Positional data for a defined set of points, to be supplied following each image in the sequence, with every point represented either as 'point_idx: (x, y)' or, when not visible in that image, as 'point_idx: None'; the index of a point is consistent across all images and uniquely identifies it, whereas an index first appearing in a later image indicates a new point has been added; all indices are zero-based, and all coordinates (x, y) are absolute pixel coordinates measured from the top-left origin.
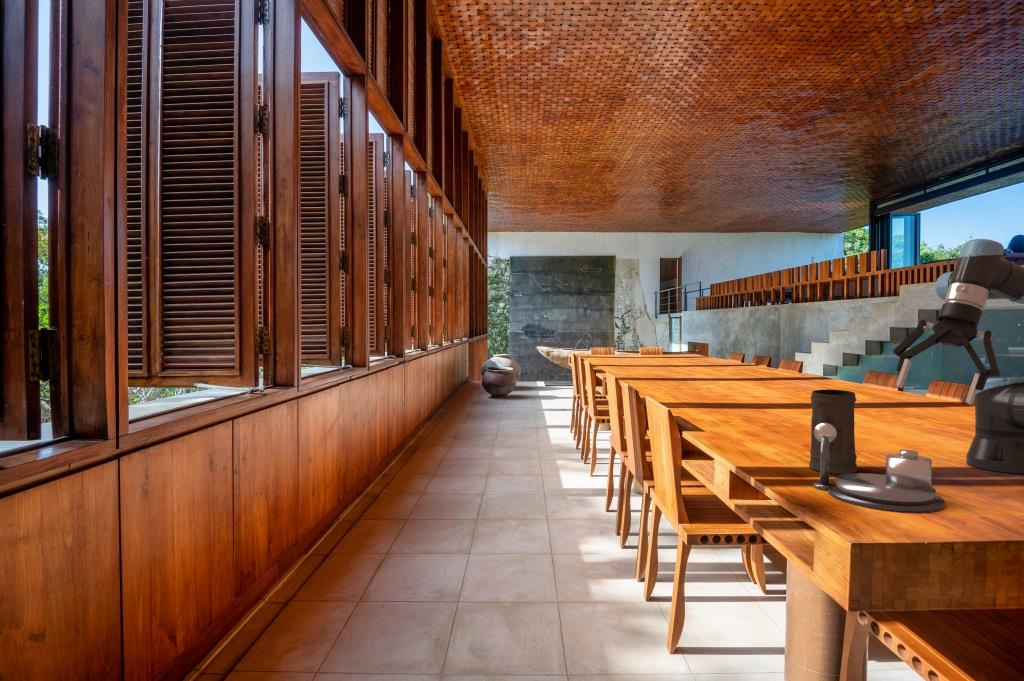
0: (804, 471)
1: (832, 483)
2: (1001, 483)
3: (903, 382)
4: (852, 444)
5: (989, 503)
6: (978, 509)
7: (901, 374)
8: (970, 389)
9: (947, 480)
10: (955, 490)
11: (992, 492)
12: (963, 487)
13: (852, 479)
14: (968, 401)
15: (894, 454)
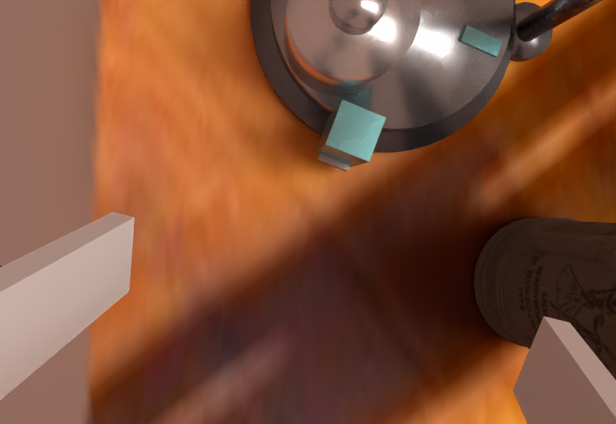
0: (592, 206)
1: (510, 53)
2: (120, 396)
3: (534, 397)
4: (534, 271)
5: (154, 116)
6: (178, 31)
7: (600, 376)
8: (73, 248)
9: (251, 339)
10: (230, 220)
11: (145, 257)
12: (212, 272)
13: (472, 7)
14: (118, 216)
15: (398, 43)
